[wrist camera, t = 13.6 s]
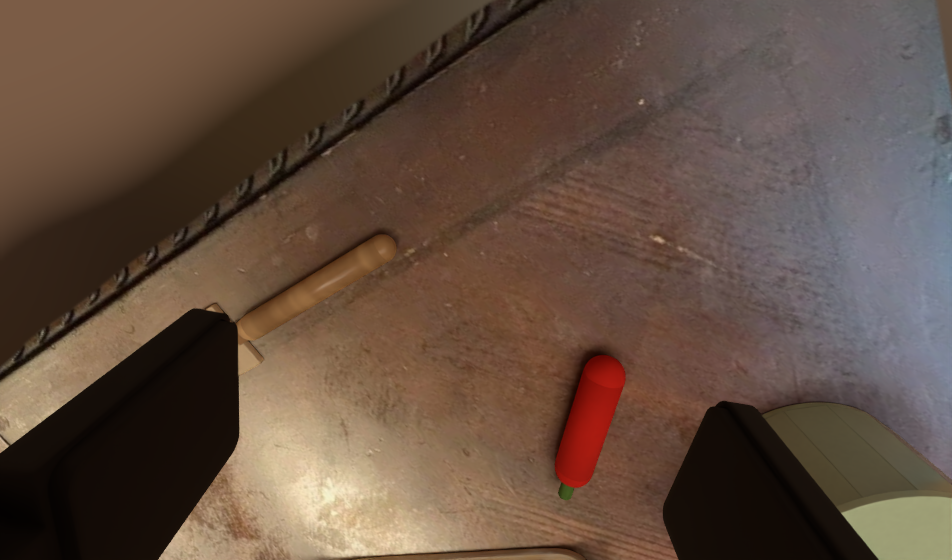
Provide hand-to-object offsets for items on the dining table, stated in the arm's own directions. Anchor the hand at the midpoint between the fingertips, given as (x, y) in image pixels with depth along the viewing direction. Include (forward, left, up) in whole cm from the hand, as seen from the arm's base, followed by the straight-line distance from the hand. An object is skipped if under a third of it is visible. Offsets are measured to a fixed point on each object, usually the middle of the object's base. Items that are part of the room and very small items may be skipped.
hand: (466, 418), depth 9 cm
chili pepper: (+14, +9, -20) cm, 26 cm away
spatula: (+11, -13, -22) cm, 28 cm away
